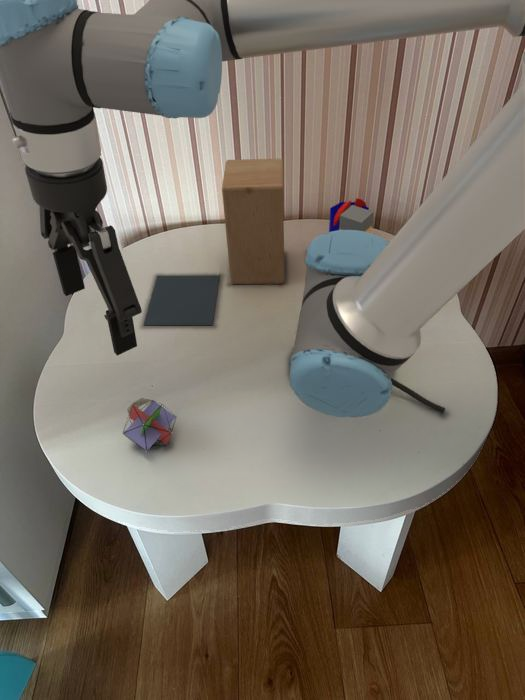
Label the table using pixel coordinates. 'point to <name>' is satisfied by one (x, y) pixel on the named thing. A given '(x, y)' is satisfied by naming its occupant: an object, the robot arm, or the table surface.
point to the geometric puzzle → (149, 424)
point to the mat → (183, 301)
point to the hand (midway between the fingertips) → (98, 318)
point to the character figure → (356, 219)
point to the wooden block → (254, 220)
